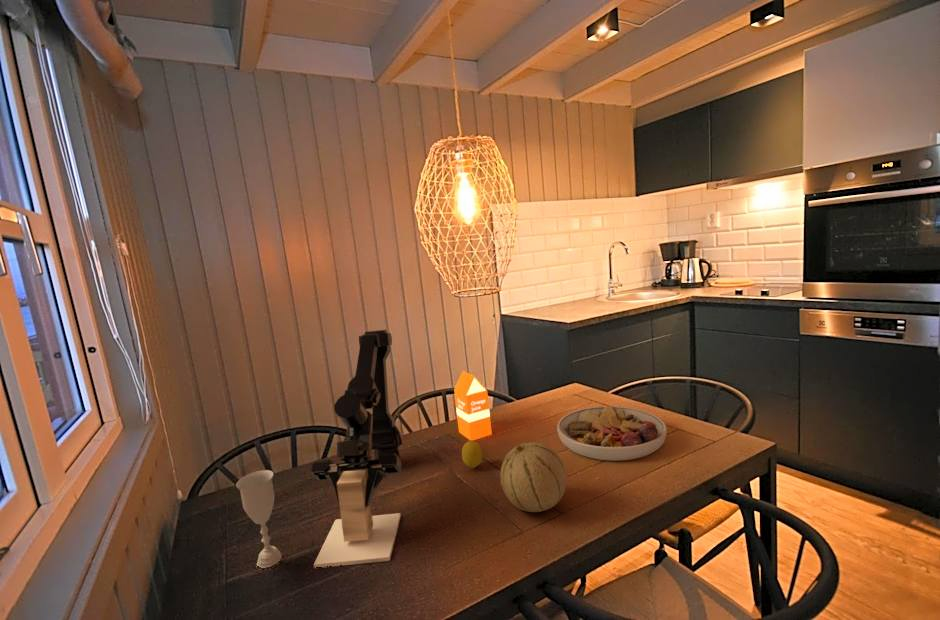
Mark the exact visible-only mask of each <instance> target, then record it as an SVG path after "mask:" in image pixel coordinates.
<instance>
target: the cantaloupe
mask: <svg viewBox="0 0 940 620" xmlns="http://www.w3.org/2000/svg"><path fill="white" fill-rule="evenodd" d="M567 475H568V474H567V470H566V465H565V464H564V462H563V460H562V458H561V457H560V455H559V454H558V453H557V452H556V451H555V450H554V449H552V448H551V447H550V446H548V445H545V444H543V443H539V442H538V443H537V442H534V441H532V442H524V443H522V444H519V445H517V446H515V447H514V448H512V449H511V450H510V451H509V452H508V453H507V454H506V455H505V457H504V458H503V461H502V464H501V467H500V485H501V488H502V490H503V492H504V494H505V496H506V498H507V499H508V501H509V502H511V504H512V505H513V506H514V507H515V508H517V509H519V510H522V511H524V512H529V513H540V512H543V511H548V510H549V509H550V510H551V509H552V508H553V507H555V506H556V505H558V503H560V500H561V499H562V497H563V496H564V494H565V491H566V489H567V481H568V479H567V478H568V477H567Z"/></svg>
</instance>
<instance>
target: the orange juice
mask: <svg viewBox="0 0 940 620" xmlns="http://www.w3.org/2000/svg"><path fill="white" fill-rule="evenodd" d="M453 392H454V399H455V400H454V401H455V408H456V409H455V410H456V418H457V419H456V420H457V426H458V433H459V434H461V435H462V436H463V437H465V438H466V439H468V441H470V440H472V441H476V440H478V439H481V438H485V437H487V436H491V435H493V434H492V433H493V432H492V425H491V412H490V404H489V395H488V394H489V393H488V390H487V389H486V388H485V386H484V385H483V384H482V383H481V382H480V381H479V380H478V379H477V377H476V376H475V375H474V374H470V373H469V372H466V371H464V370H462V371H461V374H460V377H459V378H458V381H457V382H456V385H455V387H454V389H453Z"/></svg>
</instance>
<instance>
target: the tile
mask: <svg viewBox="0 0 940 620" xmlns="http://www.w3.org/2000/svg"><path fill="white" fill-rule="evenodd" d="M372 519H373V527H372V530H371V533H370V536H369V539H368V540H362V541H347V542H344V536H343V529H342V521H341V518H338V519H334V522H333V524H332V526H331V528H330V530H329V532H328V534H327V536H326V538H325V540H324V543H323V545H322V546H321V548H320V551H319V553H318V555H317V557H316V559H315V561H314V564H313V568H314V569H317V568H316V567H322V568H330V567H329V566H332V567H341V566H340V565H342V566H350V565H352V566H353V565H360V564H371V563H381V562H390V561H391V558H392V553H393V549H394V545H395V540H396V536H397V534H398V529H399V524H400V520H401V512H398V513H397V512H395V513H389V514H388V513H386V514H379V515H372ZM327 566H328V567H327Z"/></svg>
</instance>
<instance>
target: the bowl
mask: <svg viewBox="0 0 940 620" xmlns="http://www.w3.org/2000/svg"><path fill="white" fill-rule="evenodd" d="M556 430H557V435H558V438H559V440H560V441H561V442H562V443H563V445H564V446H565V447H567V448H568V449H569V450H571V451H572V452H574V453H575V454H578V455H580V456H584V457H587V458H590V459H593V460H601V461H602V460H603V461H610V462H611V461H618V462H619V461H629V460H636V459H639V458H644V457H646V456H649V455H650V454H652V453H655V451H657V450H658V449H660V448H661V446H662V445H664V443H665V440H666V437H667V426H666V423H665V422H664V421H663V420H662V419H661V418H660V417H658V416H657V415H655V414H653V413H650V412H648V411H645V410H642V409H638V408H632V407H625V406H612V405H611V406H593V407H586V408H581V409H578V410H575V411H571V412H569V413H568V414H566V415H564V416H562V417H561V418H560V419H559V421H558V422H557V425H556Z"/></svg>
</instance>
